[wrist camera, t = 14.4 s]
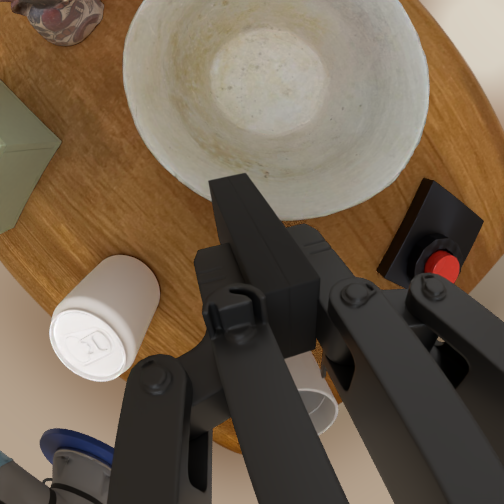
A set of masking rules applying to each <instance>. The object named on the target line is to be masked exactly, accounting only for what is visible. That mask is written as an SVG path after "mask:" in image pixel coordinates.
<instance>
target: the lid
mask: <svg viewBox="0 0 504 504" xmlns="http://www.w3.org/2000/svg"><path fill="white" fill-rule="evenodd" d="M5 147H6V144H5V143H4V142H3V140H2V139H1V138H0V157H1V155H2V153H3V151H4V149H5Z"/></svg>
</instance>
